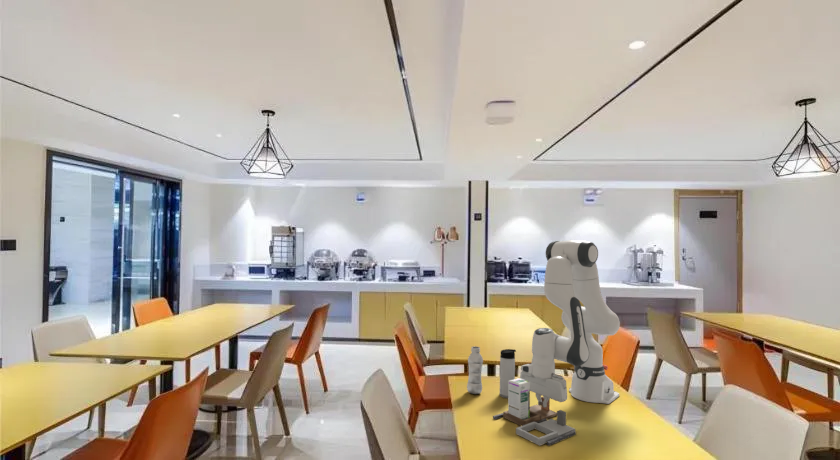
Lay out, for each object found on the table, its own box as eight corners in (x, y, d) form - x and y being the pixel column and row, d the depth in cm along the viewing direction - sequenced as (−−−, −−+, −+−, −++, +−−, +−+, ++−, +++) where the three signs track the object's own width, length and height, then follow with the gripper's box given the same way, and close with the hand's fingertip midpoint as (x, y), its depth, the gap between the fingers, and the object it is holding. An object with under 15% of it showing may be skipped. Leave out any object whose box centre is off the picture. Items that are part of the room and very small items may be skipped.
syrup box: (519, 424, 150) (520, 384, 150) (507, 418, 155) (508, 379, 155) (529, 420, 153) (530, 381, 154) (517, 415, 158) (518, 377, 159)
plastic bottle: (466, 390, 184) (468, 345, 185) (482, 391, 184) (483, 346, 184) (466, 395, 178) (467, 348, 179) (482, 396, 177) (483, 349, 178)
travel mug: (515, 399, 175) (516, 351, 176) (499, 397, 176) (500, 350, 177) (514, 394, 181) (515, 348, 182) (499, 392, 182) (500, 347, 183)
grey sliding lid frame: (551, 420, 153) (551, 406, 154) (575, 431, 145) (575, 415, 145) (515, 433, 142) (516, 418, 142) (539, 445, 134) (540, 429, 134)
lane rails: (519, 410, 163) (519, 407, 163) (575, 434, 143) (575, 431, 143) (492, 418, 154) (492, 416, 154) (549, 445, 134) (549, 442, 134)
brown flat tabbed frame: (536, 406, 167) (536, 393, 167) (557, 415, 159) (557, 401, 159) (503, 417, 155) (503, 403, 156) (524, 427, 147) (524, 412, 147)
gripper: (571, 376, 155) (570, 413, 155) (527, 363, 172) (527, 396, 171) (561, 379, 152) (560, 417, 151) (517, 365, 168) (517, 399, 168)
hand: (542, 406), depth 161 cm, fingers closed, pressing on brown flat tabbed frame
